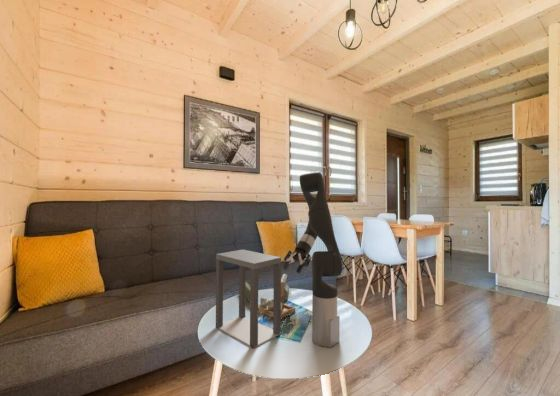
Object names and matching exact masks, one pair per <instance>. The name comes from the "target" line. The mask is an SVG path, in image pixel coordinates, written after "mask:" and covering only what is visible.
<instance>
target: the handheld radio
mask: <svg viewBox="0 0 560 396" xmlns="http://www.w3.org/2000/svg"><path fill="white" fill-rule="evenodd" d="M245 299H246V300H248V302H249V303H250V284H249V283H248V282H247V281H246V286H245Z"/></svg>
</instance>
